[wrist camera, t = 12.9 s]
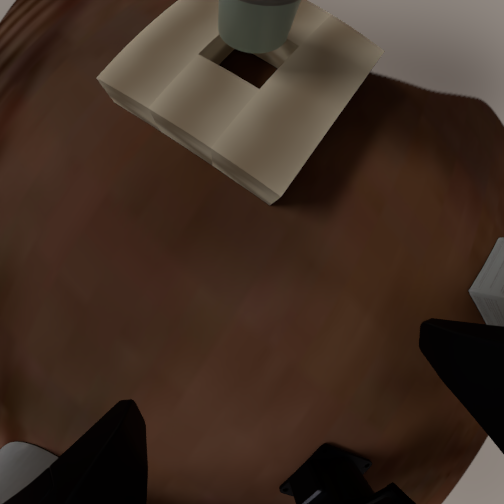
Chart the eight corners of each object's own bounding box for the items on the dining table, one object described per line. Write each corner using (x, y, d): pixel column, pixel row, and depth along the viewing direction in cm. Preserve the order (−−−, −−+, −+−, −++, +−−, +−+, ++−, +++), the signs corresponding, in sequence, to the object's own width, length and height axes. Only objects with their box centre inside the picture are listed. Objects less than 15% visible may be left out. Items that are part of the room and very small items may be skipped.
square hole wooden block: (363, 74, 21) (384, 51, 17) (269, 205, 21) (281, 196, 17) (226, -6, 20) (228, -35, 16) (114, 102, 19) (96, 78, 15)
